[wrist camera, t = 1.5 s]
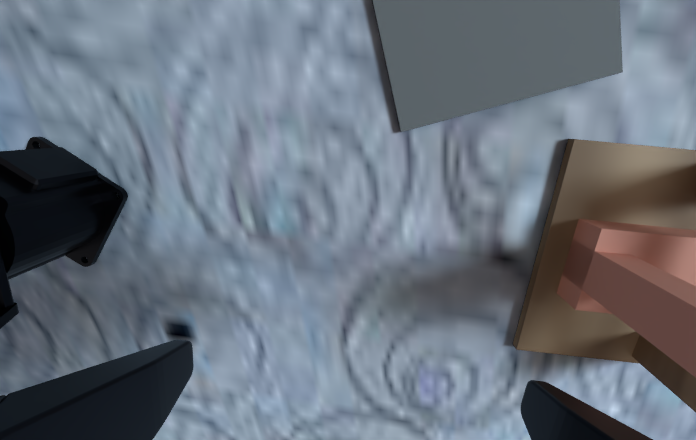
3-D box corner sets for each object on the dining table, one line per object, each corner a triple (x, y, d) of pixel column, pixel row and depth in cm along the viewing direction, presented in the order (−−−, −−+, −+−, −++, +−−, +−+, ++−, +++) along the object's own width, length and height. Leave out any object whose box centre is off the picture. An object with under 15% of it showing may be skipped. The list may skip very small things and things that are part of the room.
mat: (400, 131, 19) (401, 131, 19) (367, -20, 17) (367, -23, 17) (617, 73, 18) (622, 71, 17) (608, -100, 16) (615, -106, 15)
